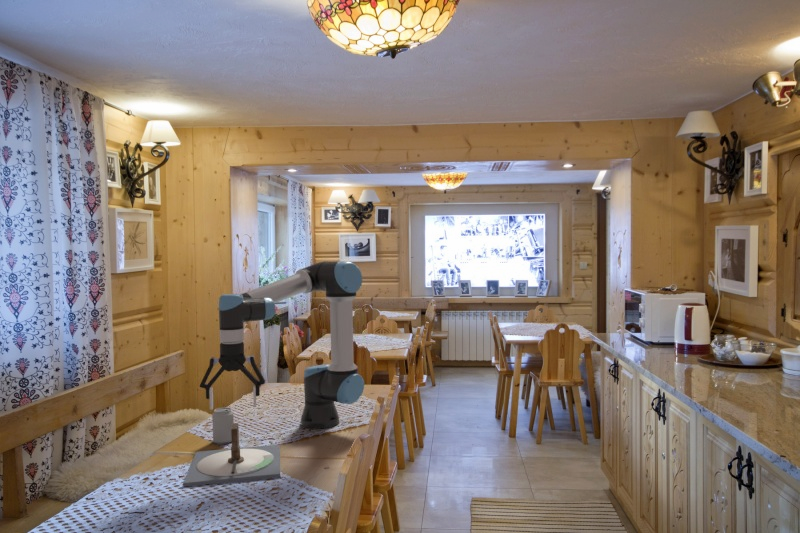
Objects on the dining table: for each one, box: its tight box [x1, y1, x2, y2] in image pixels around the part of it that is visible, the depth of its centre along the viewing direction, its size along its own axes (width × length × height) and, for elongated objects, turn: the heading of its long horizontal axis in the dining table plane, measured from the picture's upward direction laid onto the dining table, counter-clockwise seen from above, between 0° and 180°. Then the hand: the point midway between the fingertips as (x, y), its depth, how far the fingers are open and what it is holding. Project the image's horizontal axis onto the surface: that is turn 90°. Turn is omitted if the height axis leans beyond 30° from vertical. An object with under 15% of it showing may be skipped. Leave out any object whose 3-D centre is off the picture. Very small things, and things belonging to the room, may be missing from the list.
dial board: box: [183, 444, 281, 488], centre depth 195 cm, size 28×28×2 cm
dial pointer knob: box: [228, 422, 244, 474], centre depth 190 cm, size 5×16×11 cm, turn 12°
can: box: [211, 406, 235, 445], centre depth 220 cm, size 8×8×12 cm
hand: (233, 407), depth 194 cm, fingers open, 13 cm apart
